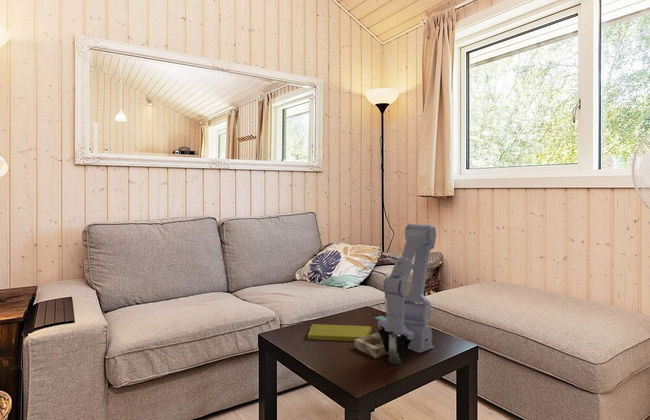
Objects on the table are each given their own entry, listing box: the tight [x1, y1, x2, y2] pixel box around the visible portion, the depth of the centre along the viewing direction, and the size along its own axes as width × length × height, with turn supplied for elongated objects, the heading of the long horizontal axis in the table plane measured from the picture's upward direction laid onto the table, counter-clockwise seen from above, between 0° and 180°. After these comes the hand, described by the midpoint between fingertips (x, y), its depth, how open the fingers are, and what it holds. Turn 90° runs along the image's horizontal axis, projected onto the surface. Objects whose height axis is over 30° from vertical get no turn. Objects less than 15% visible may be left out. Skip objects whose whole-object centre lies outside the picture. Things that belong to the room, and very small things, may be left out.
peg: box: [388, 332, 402, 365], centre depth 131 cm, size 4×4×9 cm
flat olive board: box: [307, 323, 372, 342], centre depth 155 cm, size 12×2×24 cm
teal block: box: [374, 315, 386, 330], centre depth 144 cm, size 11×4×6 cm, turn 35°
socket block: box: [354, 332, 389, 359], centre depth 142 cm, size 11×13×3 cm
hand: (394, 354), depth 131 cm, fingers open, 6 cm apart
